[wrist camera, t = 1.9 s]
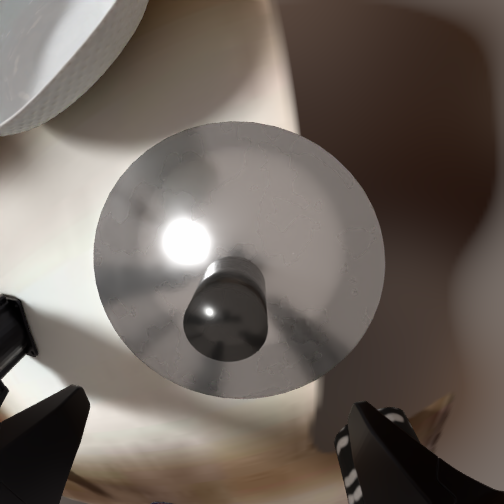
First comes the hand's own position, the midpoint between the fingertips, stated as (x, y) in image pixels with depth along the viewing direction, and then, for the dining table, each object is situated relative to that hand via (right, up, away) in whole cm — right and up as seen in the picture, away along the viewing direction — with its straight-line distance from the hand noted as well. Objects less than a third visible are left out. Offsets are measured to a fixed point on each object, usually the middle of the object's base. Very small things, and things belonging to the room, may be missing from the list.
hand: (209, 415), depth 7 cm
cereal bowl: (-13, +22, +6) cm, 26 cm away
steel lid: (0, +3, +11) cm, 12 cm away
